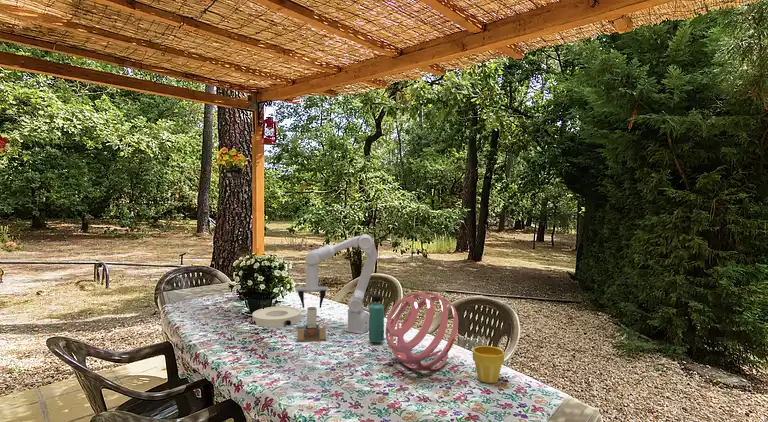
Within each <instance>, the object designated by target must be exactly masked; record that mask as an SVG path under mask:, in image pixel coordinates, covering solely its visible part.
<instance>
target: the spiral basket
mask: <svg viewBox="0 0 768 422" xmlns="http://www.w3.org/2000/svg"><path fill="white" fill-rule="evenodd" d="M420 297H421V298H423V300H420V301H419V302H418V301H417V299H419V298H420ZM437 301H438V302H439V304H440V308H441V319H440V323H439V327H438V330H437V332H436V333H435V336H434V337H433V339H432V341H430V343H429V344H428V345H427V346H426V348H425V349H424V350H423V351H421V352H420V353H419V354H416V353H415V354H413V353H412V350H413V349H414V348H416V347H417V346H418V345H419V344H420V343H422V341H423V340H424V338H425V337H426V336H427V334H428V333H429V331H430V329H431V326H432V323H433V321H434V316H435V305H434V302H437ZM402 303H403V304H402ZM401 304H402V305H401ZM447 304H448V306H449V307H450V309H451V311H452V312H451V313H452V317H453V323H452V328H451V333H450V337H449V338H448V340H447V343H446V344H445V347H443V349H439V350H436V349H437V347H438V346H439V344H440V343H441V342H442V340H443V338H444V336H445V333H446V330H447V327H448V322H449V321H448V320H449V311H448V306H447ZM409 306H410V310H409V312H408V313H407V314H406V316H405V318H404V320H403V321H402V323H401V325H400V322H399V319H400V318H401V315H402V314H403V313H404V311H405V310H406V309H407V308H408V307H409ZM424 306H426V314H425V318H424V320H423V324H422V325H421V327H420V328H419V331H418V332H417V333H416V334H415V335H414V337H413V338H412V339H411V340H408V341H407V342H406V341H405V339H404V336H405V334H407V333H408V332H409V331H410V330H411V328H413V326H414V324H415V322H416V320H417V319H418V316H419V310H420V309H422V308H423V307H424ZM399 307H400V308H399ZM398 308H399V309H398ZM397 309H398V310H397ZM396 311H397V312H396ZM395 312H396V314H395ZM394 314H395V315H394ZM393 315H394V318H393ZM458 329H459V317H458V313H457V310H456V308H455V306H454V305H453V304H452V303H451V301H450V300H448V299H447V298H445V297H443V296H441V295H439V294H438V293H436V292H432V291H415V292H411V293H408V294H406V295H405V296H403V297H402V298H401V299H399V300H398V301H397V302H396V303H395V304H394V305H393V306H392V308H391V309H390V311H389V313H388V316H387V320H386V326H385V340H386V342H387V345H388V348H389V350H390V351H391V354H392V355H393V356H394V358H395V359H396V360H397V361H398V362H400V363H402V364H403V365H404V366H405V367H407V368H409V369H411V370H413V371H419V372H420V371H421V372H422V371H423V372H433V371H434V372H435V371H438V370H440V369H442V367H444V366H445V364H446V362H447V360H448V356H449V352H450V350H451V349H452V347H453V346H454V343H455V341H456V337H457V335H458ZM394 338H397V340H396V344H394ZM435 350H436V351H435ZM437 354H438V355H437ZM436 355H437V356H436ZM433 356H436V357H435V358H434V359H433V360H432V361H430V362H429V363H425V364H424V363H422V361H424V360H425V359H427V358H431V357H433ZM439 363H440V364H439ZM438 364H439V365H438ZM412 365H413V366H412ZM436 365H437V366H436ZM435 366H436V367H435Z"/></svg>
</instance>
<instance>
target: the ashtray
mask: <svg viewBox="0 0 768 422" xmlns="http://www.w3.org/2000/svg"><path fill="white" fill-rule="evenodd" d="M301 320H302V311H301V310H300V309H299V308H297V307H293V306H268V307H264V309H263V308H259V309H257V310H254V311H253V312H252V322H253V323H254V322H255V323H254V324H255V326H257V325H259V326H258V327H261V326H264V327H263V328H281V327H284V326H286V325H287V324H288V323H289V322H290V325H291V326H292V325H294V324H295V325H296V324H298V323H299V322H300V321H301ZM253 323H252V324H253Z"/></svg>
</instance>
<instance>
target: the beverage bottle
mask: <svg viewBox="0 0 768 422" xmlns="http://www.w3.org/2000/svg"><path fill="white" fill-rule="evenodd" d="M371 302H372V303H371V304H369V306H368V310H369V311H368V314H369V330H368V339H369V341H370V342H372V343H380V342H383V341H384V339H385V314H384V313H385V306H384V305H383V304H382V303H380V302H382V295H377V294H376V295H375V294H374V295H372V296H371Z"/></svg>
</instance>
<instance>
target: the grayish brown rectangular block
mask: <svg viewBox="0 0 768 422" xmlns="http://www.w3.org/2000/svg"><path fill="white" fill-rule="evenodd" d="M317 309H318V307H316V306H308V307H307V311H306V312H307V313H306V325H307V328H317V324H318V323H317V318H318V317H317V315H318V312H317V311H318V310H317Z"/></svg>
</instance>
